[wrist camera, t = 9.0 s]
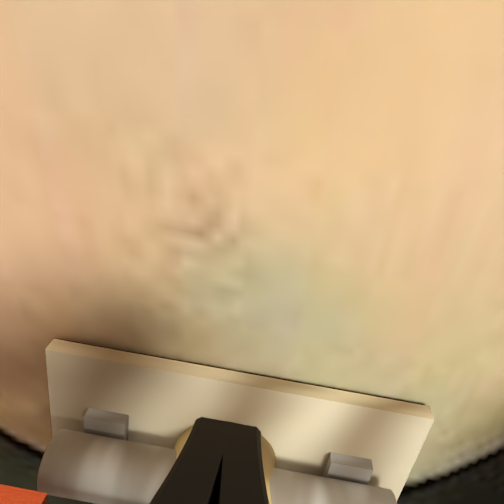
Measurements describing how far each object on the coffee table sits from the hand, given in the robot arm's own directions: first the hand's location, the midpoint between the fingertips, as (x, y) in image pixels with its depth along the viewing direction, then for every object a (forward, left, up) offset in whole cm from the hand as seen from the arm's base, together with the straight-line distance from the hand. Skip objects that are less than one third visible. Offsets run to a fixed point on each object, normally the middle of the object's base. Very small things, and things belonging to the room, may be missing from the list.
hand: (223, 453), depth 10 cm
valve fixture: (0, +11, -9) cm, 14 cm away
